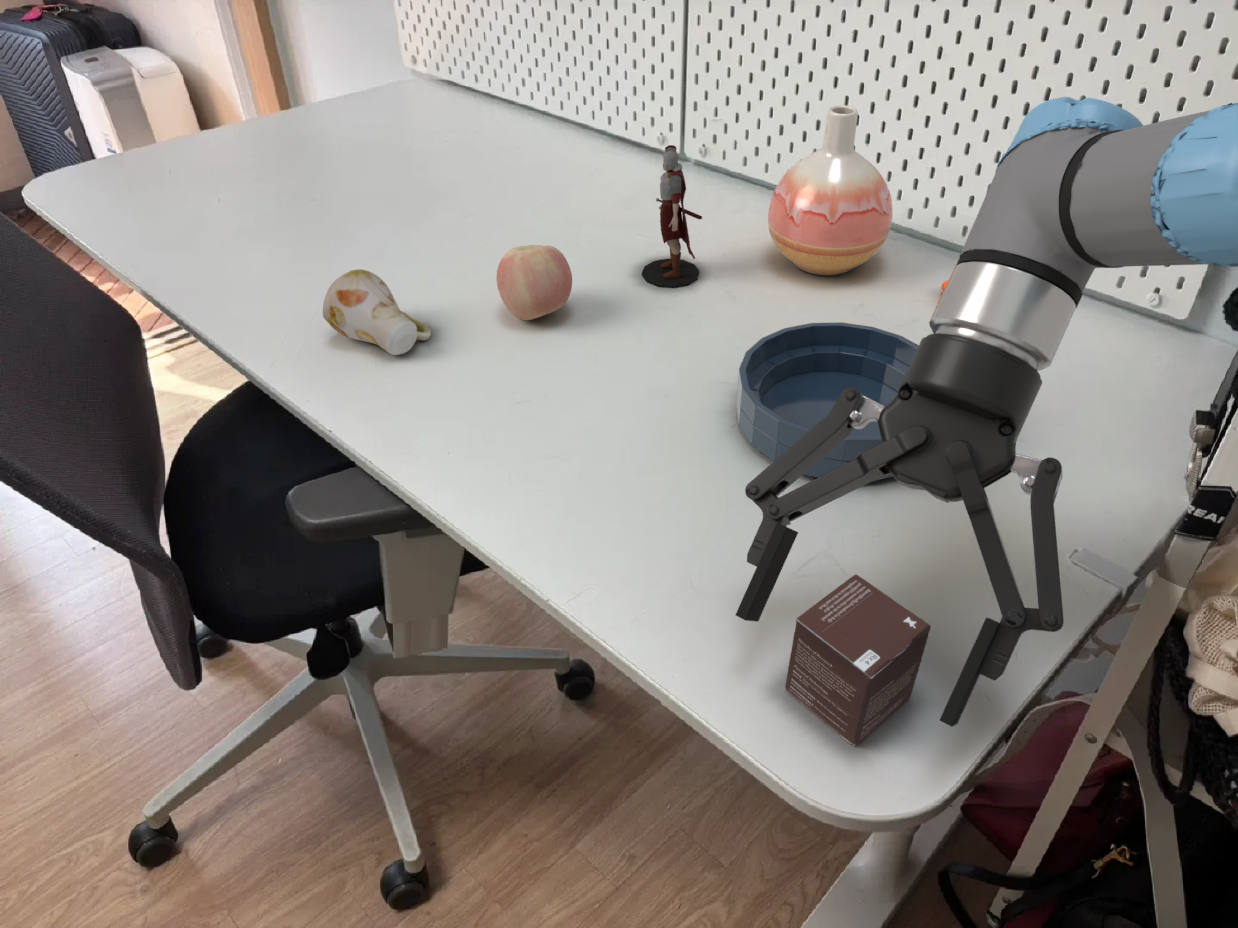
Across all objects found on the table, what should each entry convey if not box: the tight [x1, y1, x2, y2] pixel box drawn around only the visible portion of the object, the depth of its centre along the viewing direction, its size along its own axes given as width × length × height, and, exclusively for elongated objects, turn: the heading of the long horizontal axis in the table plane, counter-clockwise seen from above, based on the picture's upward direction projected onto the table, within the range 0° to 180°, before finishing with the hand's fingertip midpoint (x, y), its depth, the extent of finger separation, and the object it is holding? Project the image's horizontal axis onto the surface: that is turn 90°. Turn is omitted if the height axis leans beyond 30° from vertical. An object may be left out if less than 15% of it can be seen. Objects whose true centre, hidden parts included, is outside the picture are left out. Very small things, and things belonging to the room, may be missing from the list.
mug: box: [322, 269, 432, 356], centre depth 96 cm, size 8×10×10 cm
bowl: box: [735, 321, 919, 481], centre depth 84 cm, size 18×18×5 cm
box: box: [784, 574, 932, 747], centre depth 60 cm, size 6×6×7 cm
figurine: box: [641, 144, 703, 289], centre depth 103 cm, size 7×7×15 cm
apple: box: [496, 244, 573, 321], centre depth 98 cm, size 8×8×8 cm
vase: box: [767, 104, 893, 276], centre depth 103 cm, size 14×14×18 cm
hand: (841, 668), depth 58 cm, fingers open, 13 cm apart
